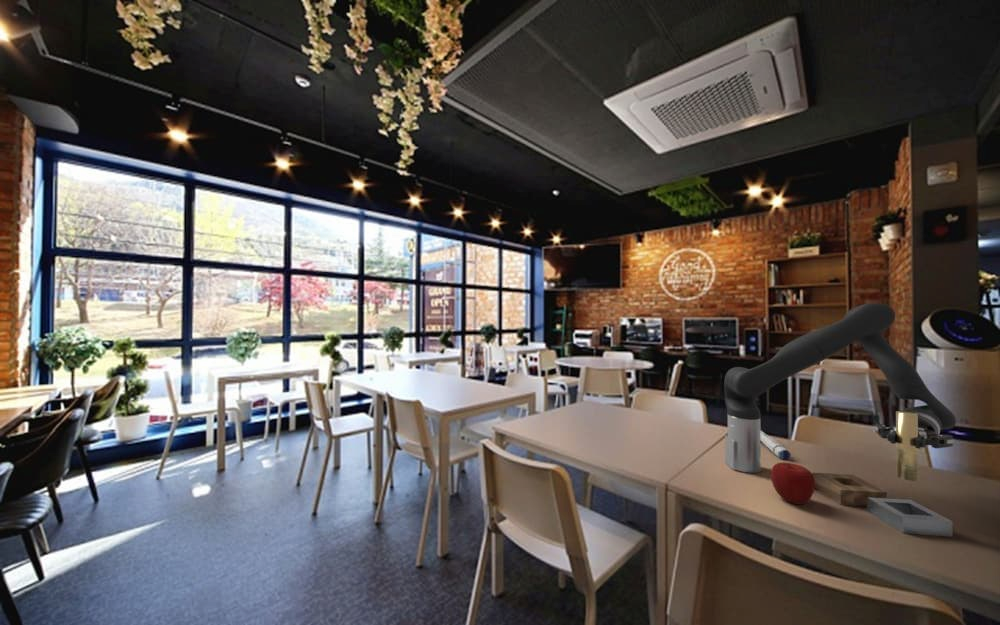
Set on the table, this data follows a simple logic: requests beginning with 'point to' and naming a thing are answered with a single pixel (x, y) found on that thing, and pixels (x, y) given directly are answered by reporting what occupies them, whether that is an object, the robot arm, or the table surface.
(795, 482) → the apple
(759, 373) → the robot arm
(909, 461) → the brass axle
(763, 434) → the white marker pen
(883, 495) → the walnut block
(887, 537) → the table surface
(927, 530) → the grey steel socket block
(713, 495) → the table surface
